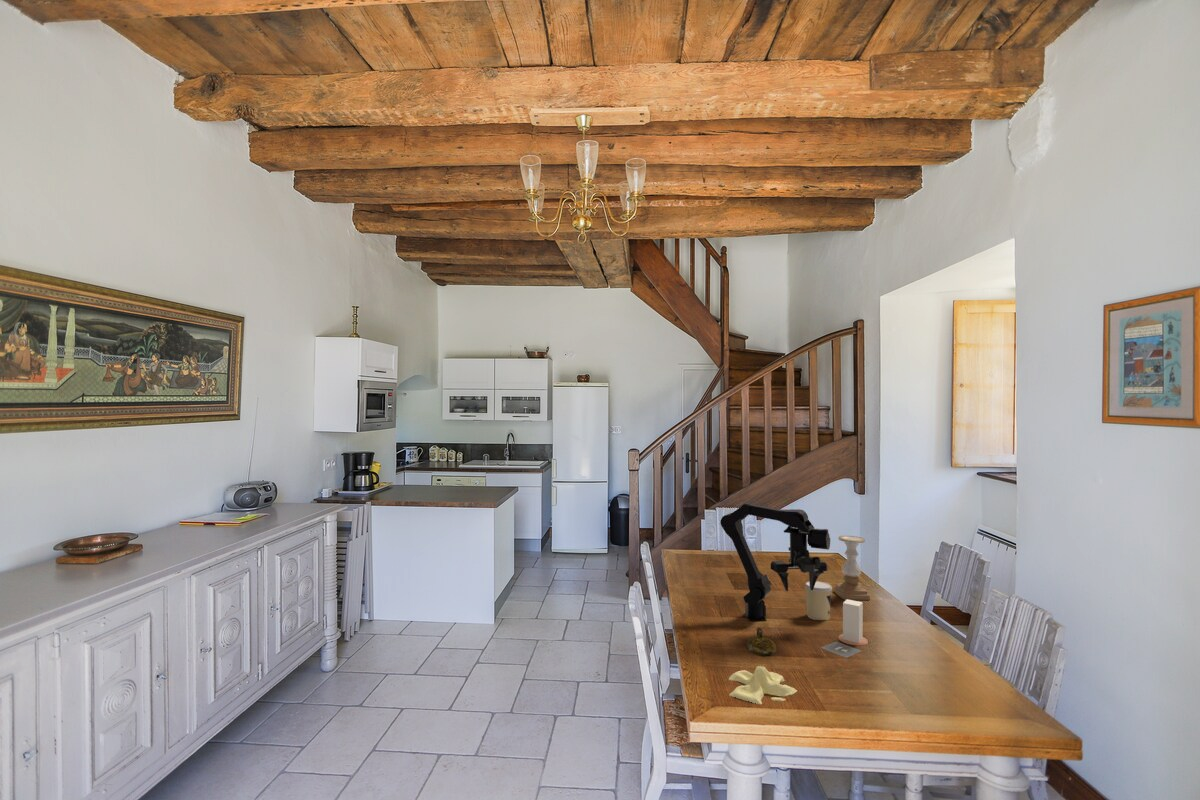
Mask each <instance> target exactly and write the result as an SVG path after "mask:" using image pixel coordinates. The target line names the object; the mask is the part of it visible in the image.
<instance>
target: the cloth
mask: <svg viewBox="0 0 1200 800" xmlns="http://www.w3.org/2000/svg"><path fill="white" fill-rule="evenodd" d="M728 681H733V682H735V681H736V682H739V683H741V685H739V686H737V687H735V689H734V690H733V691H731V692H730V693H729V697H733V698H735V697H736V699H739V700H743V701H745V702H748V701H749V702H748V703H751V702H752V704H755V703H756V704H755V705H762V704H763V702H762V700H763V699H762V698H763V697H764V694H765V695H767V694H768V695H771V696H772V697H770V700H772V701H773V702H784V701H786V700H787V699H786V698H783V697H786V696H787V697H788V696H790V695H794V694H795V693H797V692H798V690H797V689H796V688H794V687H792V686H789V685H787V684H780V683H783V682H785V681H786V680H785V678H784V677H783V675H781V674H779V673H776V672H773V671H768V669H767V668H766V667H765V666H761V665H759V666H756V667H755V670H754V672H753V673H751V672H750V671H747V670H745V669H743V670H742V669H741V670H739V671H736V672H734V673H732V674H731V675H730V676H729V678H728ZM743 684H744V685H743ZM774 696H775V697H774ZM776 696H777V697H776ZM778 696H779V697H778Z"/></svg>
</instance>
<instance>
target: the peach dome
mask: <svg viewBox="0 0 1200 800" xmlns="http://www.w3.org/2000/svg"><path fill="white" fill-rule="evenodd" d="M838 640H839V641H840V642H841V643H843V644H844V643H845V644H846V645H851V646H866V645H868V643H869V640H868V639H867V638H866V637H864V636H863V638H862V640H861V641H860V642H859V643H856V642H852V641H848V640H844V639H843V633H841V634H839V635H838Z"/></svg>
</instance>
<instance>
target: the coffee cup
mask: <svg viewBox="0 0 1200 800" xmlns="http://www.w3.org/2000/svg"><path fill="white" fill-rule="evenodd" d="M804 587H805V600H806V615H807V618H808V619H811V620H814V621H829V620H830V618H831V617H830V616H831V604H832V590H833V587H832V585H831V584H829V583H827V582H824V581H818V580H816V583H815V586H814V588H813V590H810V582H809V581H807V582H806V583H805V584H804Z"/></svg>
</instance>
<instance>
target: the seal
mask: <svg viewBox="0 0 1200 800" xmlns="http://www.w3.org/2000/svg"><path fill="white" fill-rule="evenodd" d="M746 648H747V649H748V650H749V651H750V652H752V653H754V654H755V655H758V656H761V657H767V656H773V655H774V654H775V653H776V652H777V645H776V643H775V642H774V641H773V640H771V639H770V638H768V637H766V636H764V633H763V629H762V628H761V627H757V628H756V635H755V636H753V637H750V638H749V639H748V640H747V641H746Z"/></svg>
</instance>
